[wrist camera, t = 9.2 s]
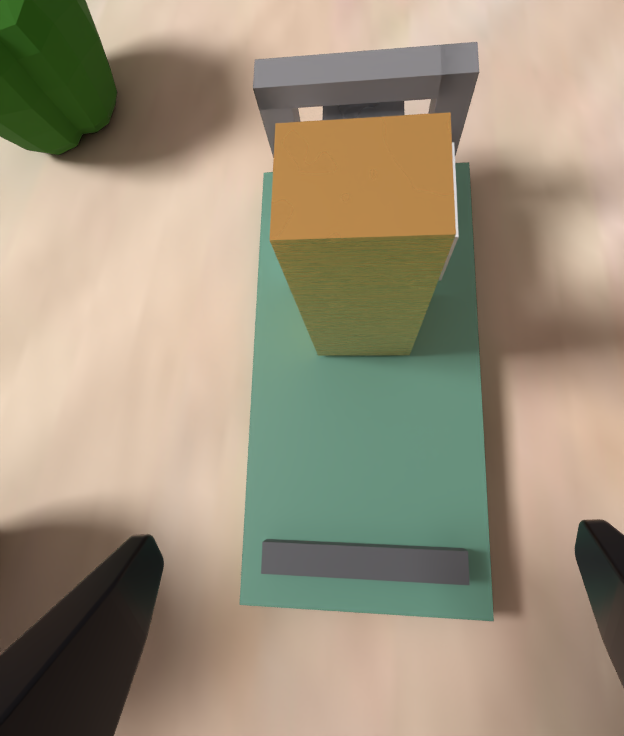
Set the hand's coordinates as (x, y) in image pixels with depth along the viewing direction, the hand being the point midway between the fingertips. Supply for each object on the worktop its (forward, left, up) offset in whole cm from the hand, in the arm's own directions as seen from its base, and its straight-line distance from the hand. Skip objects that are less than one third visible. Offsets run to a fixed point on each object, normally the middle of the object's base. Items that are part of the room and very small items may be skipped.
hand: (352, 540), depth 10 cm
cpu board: (+5, -3, -11) cm, 12 cm away
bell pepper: (+27, +4, -11) cm, 29 cm away
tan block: (+10, -6, -9) cm, 15 cm away
